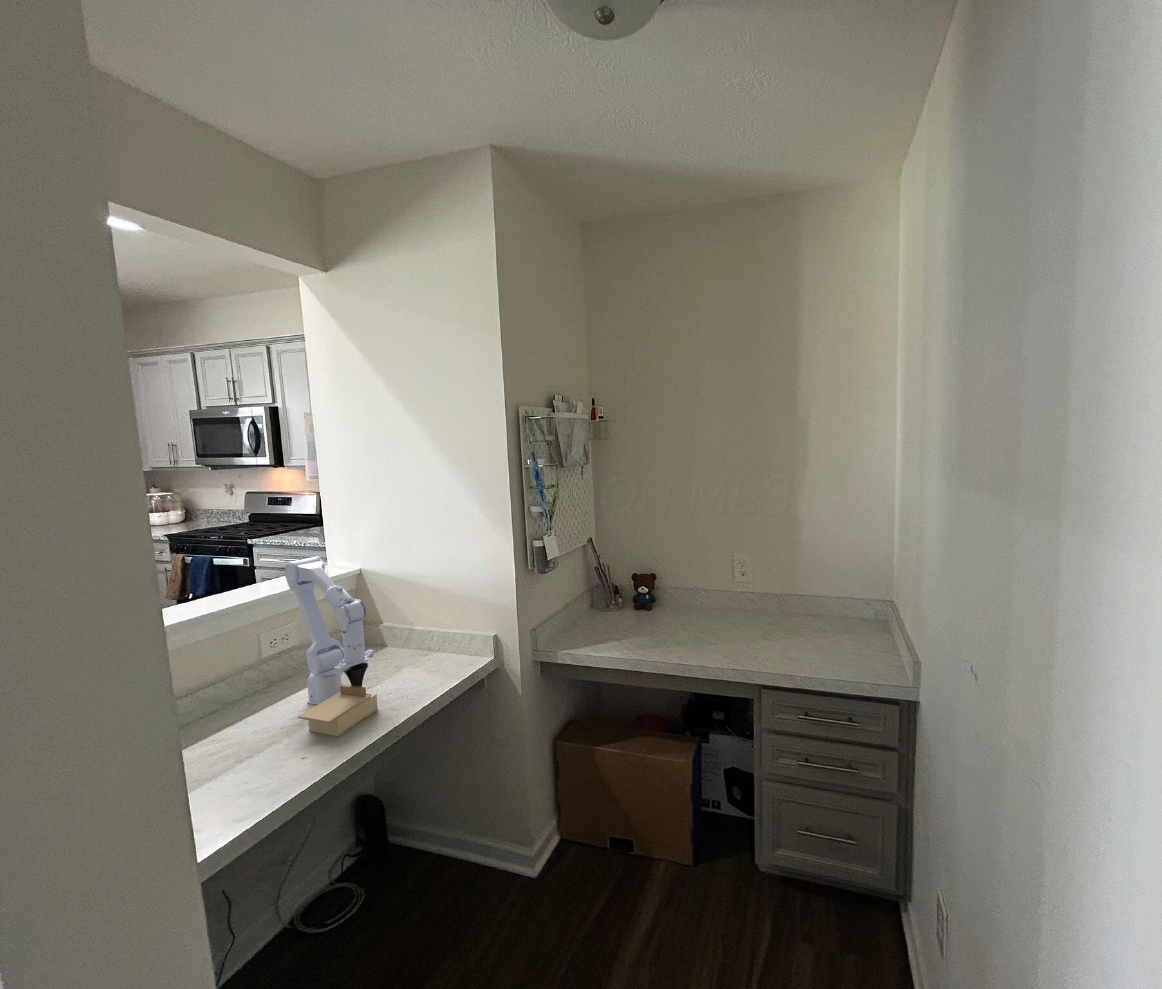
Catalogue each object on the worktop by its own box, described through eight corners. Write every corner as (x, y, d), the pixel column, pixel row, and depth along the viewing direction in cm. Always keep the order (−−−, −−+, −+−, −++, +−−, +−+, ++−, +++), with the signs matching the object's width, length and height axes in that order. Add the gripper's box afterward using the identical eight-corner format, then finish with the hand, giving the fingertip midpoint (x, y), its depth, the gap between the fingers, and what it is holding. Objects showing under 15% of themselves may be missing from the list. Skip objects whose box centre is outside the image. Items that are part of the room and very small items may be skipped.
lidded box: (349, 706, 185) (348, 689, 185) (377, 710, 182) (376, 693, 181) (309, 731, 170) (307, 713, 170) (339, 736, 167) (337, 718, 166)
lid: (341, 693, 182) (340, 683, 182) (370, 697, 179) (369, 687, 178) (298, 718, 167) (297, 707, 167) (329, 723, 163) (328, 712, 163)
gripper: (347, 653, 171) (351, 701, 173) (381, 636, 185) (384, 680, 186) (326, 651, 174) (330, 698, 175) (361, 634, 187) (364, 678, 189)
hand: (357, 689), depth 181 cm, fingers closed
